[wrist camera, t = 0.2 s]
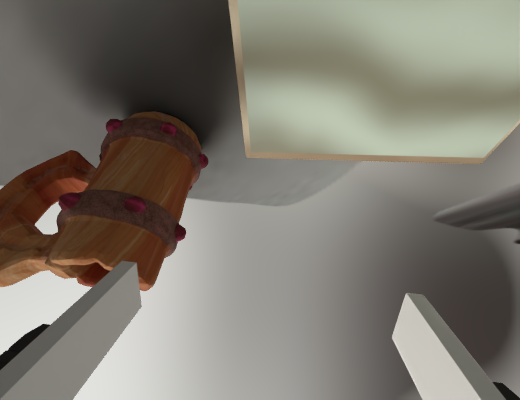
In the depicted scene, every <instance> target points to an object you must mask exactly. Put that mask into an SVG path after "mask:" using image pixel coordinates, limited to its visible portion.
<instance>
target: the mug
mask: <svg viewBox="0 0 520 400" xmlns="http://www.w3.org/2000/svg"><path fill="white" fill-rule="evenodd" d="M106 129H107V131H108V134H107V135H106V137H105V139H104V141H103V143H102V145H101V154H100V156H99V157H100V161H101V162H100V164H99V166H98V167H97V169H96V168H95V167H94V166H93V165H91V164H90V163H89V162H88V161H87V160H86V159H85V158H84V157H83V156H82V155H81V154H80V153H78V152H77V151H73V150H70V151H68V152H66V153H64V154H61V155H59V156H57V157H54V158H52V159H50V160H48V161H46V162H43V163H41V164H39V165H37V166H35V167H33V168H31V169H28V170H26V171H25V172H23V173H22V174H20V175H18V176H17V177H15V178H14V179H13V180H12V181H10V182H9V183H8V184H7V185H5V186H4V187H3V188H2V189H1V190H0V287H5V286H9V285H13V284H15V283H17V282H19V281H21V280H23V279H26V278H28V277H30V276H32V275H34V274H36V273H38V272H40V271H45V270H50V271H51V272H52V273H54V274H55V275H57V276H60V277H62V278H77V281H78V283H79V284H82V285H85V286H90V287H93V286H94V285H96V284H97V283H98V282H99V281H100V280H101V279H102V278H103V277H104V276H106V275H107V274H108V273H109V272H110V271H111V270H112V269H113V268H114V267H116V266H117V265H118V264H119V263H120V262H121V261H128V262H136V263H137V271H138V280H139V289H140V290H142V291H147V290H149V289H150V288H151V287H153V285H154V284H155V281H156V279H157V276H158V274H159V271H160V268H161V266H162V263H163V260H164V258H166V257H168V256H170V255H171V254H172V253H173V252H174V251H175V249H176V246H177V243H178V241H180V240H182V239H184V238H185V235H186V230H185V228H184V227H182V226H181V225H179V221H180V218H181V215H182V211H183V207H184V203H185V200H186V197H187V194H188V191H189V190H190V189H191V188H192V185H193V184H194V183H195V182H196V181H197V179H198V178H199V174H200V170H201V169H202V168H205V167H206V166H207V165H208V158H207V157H206V156H205V155H204V154H201V149H202V148H201V146H200V144H199V141H198V139H197V136H196V134H195V133H194V131H192V130H191V129H190V128H189V127H188V126H187V125H186V124H185V123H184V122H182V121H180V120H179V119H177V118H176V117H173V116H170V115H167V114H163V113H160V112H156V111H152V112H141V113H135V114H133V115H132V116H130V117H129V118H127V119H124V120H121V121H120V120H118V119H110V120H109V121H108V122H107V123H106ZM77 192H78V193H77ZM58 201H59V205H60V207H61V209H62V210H61V212H60V213H59V215H58V217H57V226H58V232H57V233H55V234H53V235H45V234H42V232H40V230H39V229H37V227H36V226H35V223H36V222H37V221H38V220H39V219H40V217H41V216H42V215H43V214H44V213H45V212H46V211H47V210H48V208H50V206H51V205H53V204H55V203H56V202H58Z"/></svg>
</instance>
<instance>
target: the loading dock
mask: <svg viewBox="0 0 520 400" xmlns="http://www.w3.org/2000/svg"><path fill="white" fill-rule="evenodd" d="M228 2H229V11H230V20H231V28H232V37H233V46H234V55H235V64H236V73H237V82H238V90H239V99H240V108H241V117H242V126H243V135H244V144H245V152H246V158H276V159H313V160H350V161H388V162H389V161H390V162H425V163H463V164H481V163H482V162H483V161H484V160H485V159H486V158H487V157H488V156H489V155H490V154H491V153H492V152H493V150H495V148H496V147H497V146H498V145H499V144H500V143H501V142H502V141H503V140H504V139H505V138H506V137H507V136H508V135H509V134H510V133H511V132H512V131H513V129H514V128H516V126H517V125H518V124H519V123H520V0H228Z"/></svg>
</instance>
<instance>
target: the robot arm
mask: <svg viewBox="0 0 520 400" xmlns="http://www.w3.org/2000/svg"><path fill="white" fill-rule="evenodd" d="M140 308H141V298H140V289H139V280H138V271H137V263H136V262H128V261H121V262H120V263H119V264H118V265H117V266H116V267H114V268H113V269H112V270H111V271H110V272H109V273H108V274H107V275H106V276H104V277H103V278H102V279H101V280H100V281H99V282H98V283H97V284H96V285H94V286H93V287H92V288H91V289H90V290H89V291H88V292H87V293H86V294H84V296H82V297H81V298H80V299H79V300H78V301H77V302H76V303H74V304H73V305H72V306H71V307H70V308H69V309H68V310H67V311H66V312H65V313H63V314H62V315H61V316H60V317H59V318H58V319H57V320H56V321H55V322H53V323H52V324H51V325H47V324H42V325H41V326H39V327H37V328H35V329H34V330H32V331H30V332H29V333H27V334H25V335H24V336H23V337H21V339H19V340H18V341H17V342H16V343H14V344H13V345H12V346H11V347H10V348H9V350H8V351H5V352H4V353H3V354H2V355H0V400H73V398H74V397H75V396H76V394H77V393H78V391H79V390H80V389H81V387H82V386H83V385H84V383H85V382H86V381H87V379H88V378H89V377H90V375H91V374H92V373H93V371H94V370H95V369H96V367H97V366H98V364H99V363H100V362H101V361H102V359H103V358H104V356H105V355H106V354H107V352H108V351H109V350H110V348H111V347H112V346H113V344H114V343H115V342H116V340H117V339H118V337H119V336H120V334H122V332H123V331H124V329H125V328H126V327H127V325H128V324H129V323H130V321H131V320H132V319H133V317H134V316H135V315H136V313H137V312H138V310H139V309H140ZM392 339H393V341H394V343H395V345H396V347H397V348H398V351H399V353H400V355H401V357H402V359H403V361H404V363H405V365H406V366H407V369H408V371H409V373H410V375H411V377H412V379H413V381H414V383H415V385H416V387H417V389H418V391H419V393H420V395H421V397H422V399H423V400H520V398H519V397H518V396H517V395H516V394H514V393H513V392H512V391H511V390H509V388H507V387H506V386H505V385H504V384H503V383H497V382H491V380H490V379H489V377H488V376H487V375H486V374H485V372H484V371H483V370H482V369H481V367H480V366H479V365H478V364H477V362H476V361H475V360H474V358H473V357H472V356H471V355H470V354H469V352H468V351H467V350H466V348H465V347H464V346H463V345H462V343H461V342H460V341H459V340H458V338H457V337H456V336H455V334H454V333H453V332H452V331H451V330H450V328H449V327H448V326H447V324H446V323H445V322H444V321H443V319H442V318H441V317H440V316H439V314H438V313H437V312H436V310H435V309H434V308H433V307H432V305H431V304H430V303H429V302H428V300H427V299H426V298H425V297H424V295H421V294H412V293H406V296H405V298H404V301H403V305H402V308H401V311H400V314H399V317H398V320H397V323H396V326H395V329H394V333H393V335H392Z"/></svg>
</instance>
